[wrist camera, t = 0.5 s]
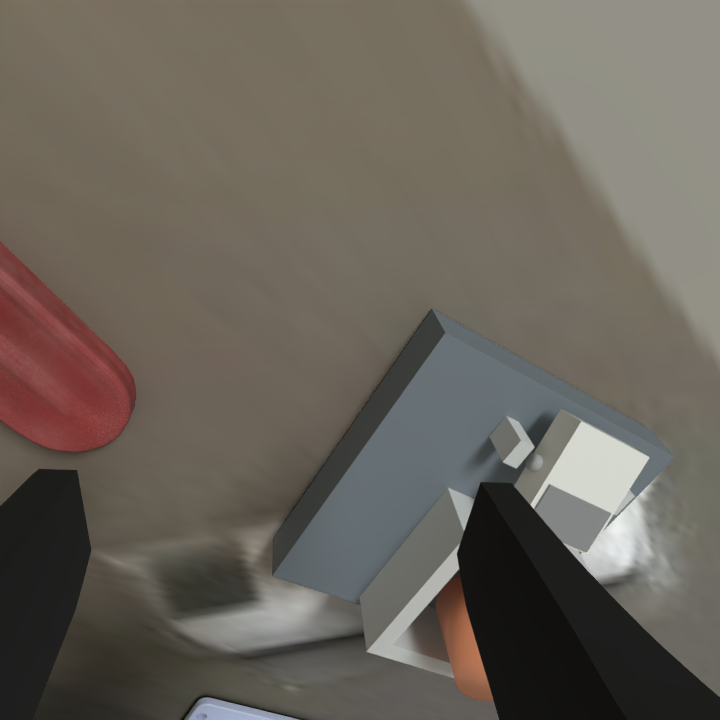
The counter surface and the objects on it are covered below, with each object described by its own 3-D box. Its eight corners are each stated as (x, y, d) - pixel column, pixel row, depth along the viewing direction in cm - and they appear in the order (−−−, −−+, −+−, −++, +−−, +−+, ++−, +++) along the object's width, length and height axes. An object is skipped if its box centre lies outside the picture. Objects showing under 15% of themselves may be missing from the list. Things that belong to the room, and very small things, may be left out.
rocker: (572, 537, 21) (593, 558, 20) (496, 504, 20) (514, 524, 19) (630, 445, 21) (655, 460, 20) (556, 406, 20) (578, 419, 18)
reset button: (483, 635, 24) (508, 709, 21) (419, 613, 22) (436, 688, 20) (532, 584, 22) (565, 655, 20) (467, 559, 21) (492, 630, 19)
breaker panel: (476, 610, 28) (507, 701, 24) (273, 538, 25) (270, 631, 21) (646, 427, 24) (718, 501, 20) (432, 308, 20) (466, 369, 16)
